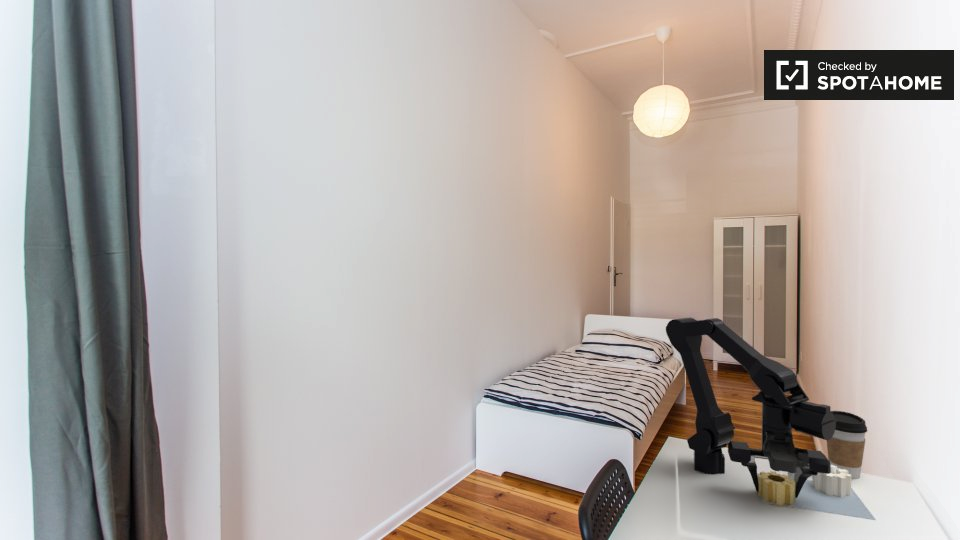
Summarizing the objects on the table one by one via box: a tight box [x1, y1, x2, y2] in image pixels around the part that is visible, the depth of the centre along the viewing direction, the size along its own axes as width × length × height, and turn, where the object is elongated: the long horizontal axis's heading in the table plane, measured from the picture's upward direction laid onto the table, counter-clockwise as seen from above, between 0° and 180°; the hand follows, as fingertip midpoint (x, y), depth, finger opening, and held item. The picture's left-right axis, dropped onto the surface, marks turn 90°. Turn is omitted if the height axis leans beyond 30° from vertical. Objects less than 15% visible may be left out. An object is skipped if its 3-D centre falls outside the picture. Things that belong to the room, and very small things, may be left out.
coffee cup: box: [826, 410, 868, 480], centre depth 117 cm, size 8×8×15 cm
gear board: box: [757, 465, 876, 521], centre depth 108 cm, size 20×15×6 cm
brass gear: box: [757, 470, 795, 507], centre depth 106 cm, size 7×7×4 cm
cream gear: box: [812, 466, 852, 498], centre depth 109 cm, size 7×7×4 cm
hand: (776, 494), depth 106 cm, fingers closed on brass gear, 7 cm apart
